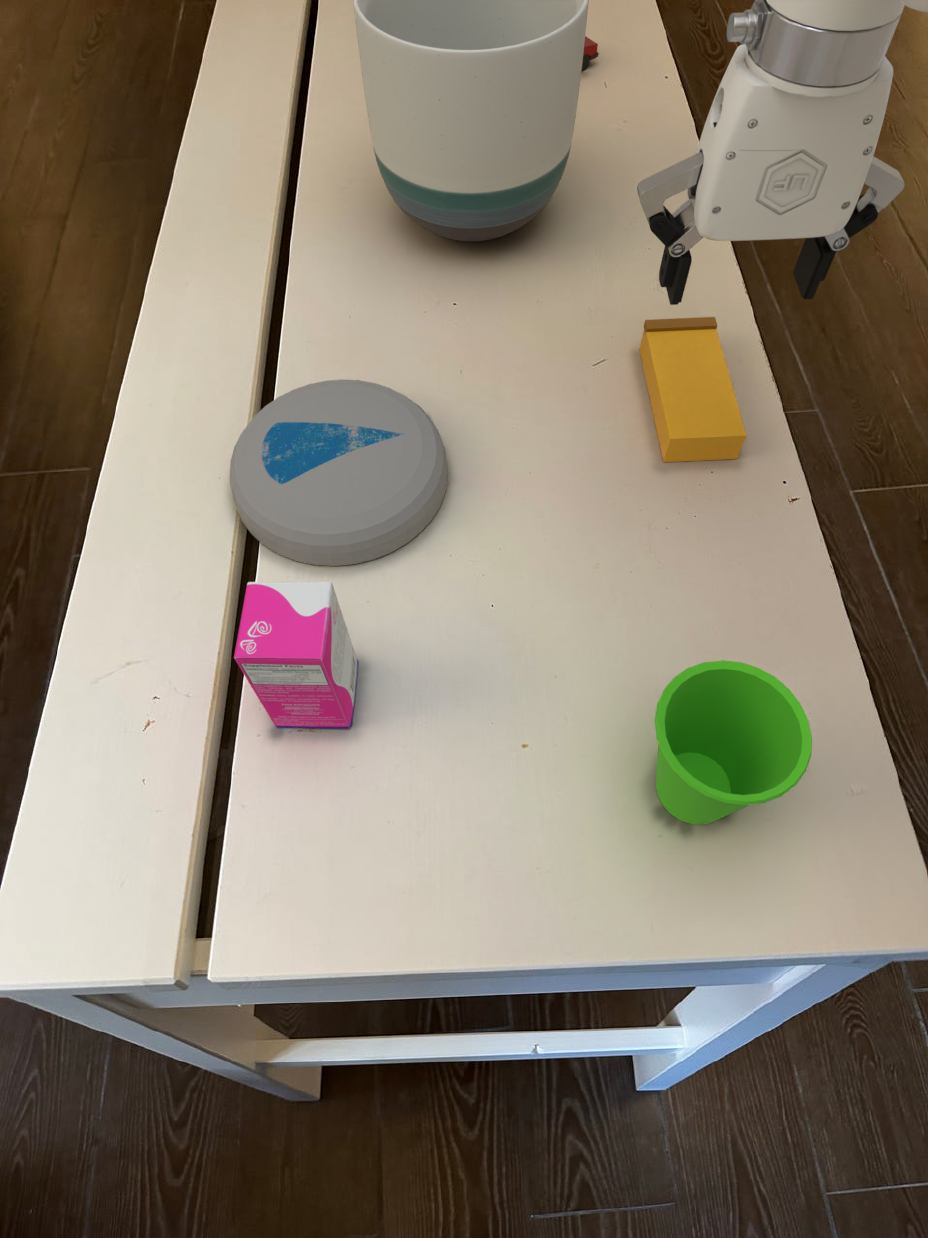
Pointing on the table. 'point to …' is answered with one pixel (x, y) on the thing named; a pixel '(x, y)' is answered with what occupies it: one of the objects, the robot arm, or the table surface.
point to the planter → (471, 106)
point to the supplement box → (298, 654)
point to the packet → (690, 390)
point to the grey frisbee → (338, 472)
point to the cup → (727, 741)
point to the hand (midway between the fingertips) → (736, 289)
